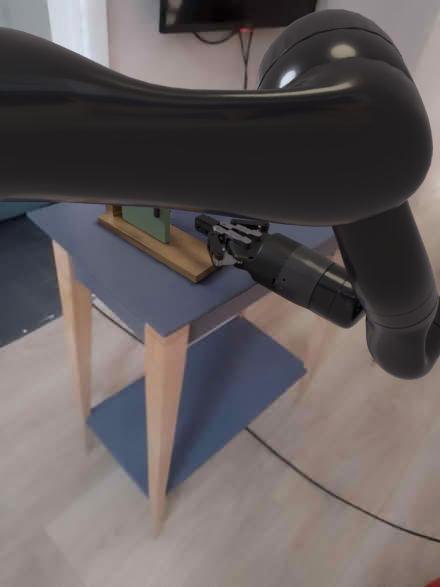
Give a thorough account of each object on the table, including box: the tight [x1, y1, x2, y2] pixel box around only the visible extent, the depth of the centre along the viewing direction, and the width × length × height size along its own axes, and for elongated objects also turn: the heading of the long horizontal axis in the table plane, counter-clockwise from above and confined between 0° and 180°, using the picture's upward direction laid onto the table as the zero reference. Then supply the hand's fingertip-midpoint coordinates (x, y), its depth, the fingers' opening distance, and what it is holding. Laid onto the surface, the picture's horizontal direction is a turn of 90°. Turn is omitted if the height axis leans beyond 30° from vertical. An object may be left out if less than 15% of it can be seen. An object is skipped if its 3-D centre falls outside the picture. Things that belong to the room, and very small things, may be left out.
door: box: [122, 206, 171, 243], centre depth 65 cm, size 2×11×15 cm, turn 51°
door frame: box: [97, 205, 216, 284], centre depth 64 cm, size 8×25×19 cm, turn 51°
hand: (197, 220), depth 60 cm, fingers closed
